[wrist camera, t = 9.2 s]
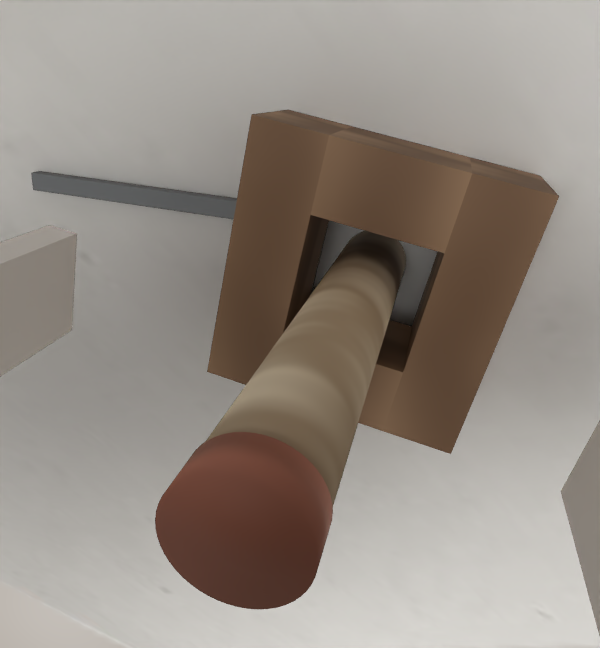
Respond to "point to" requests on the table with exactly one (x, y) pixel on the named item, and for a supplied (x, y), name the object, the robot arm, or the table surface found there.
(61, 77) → the table surface
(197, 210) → the gray square bar
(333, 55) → the table surface
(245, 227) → the wooden block with hole
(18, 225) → the table surface
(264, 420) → the wooden dowel rod
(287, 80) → the table surface
